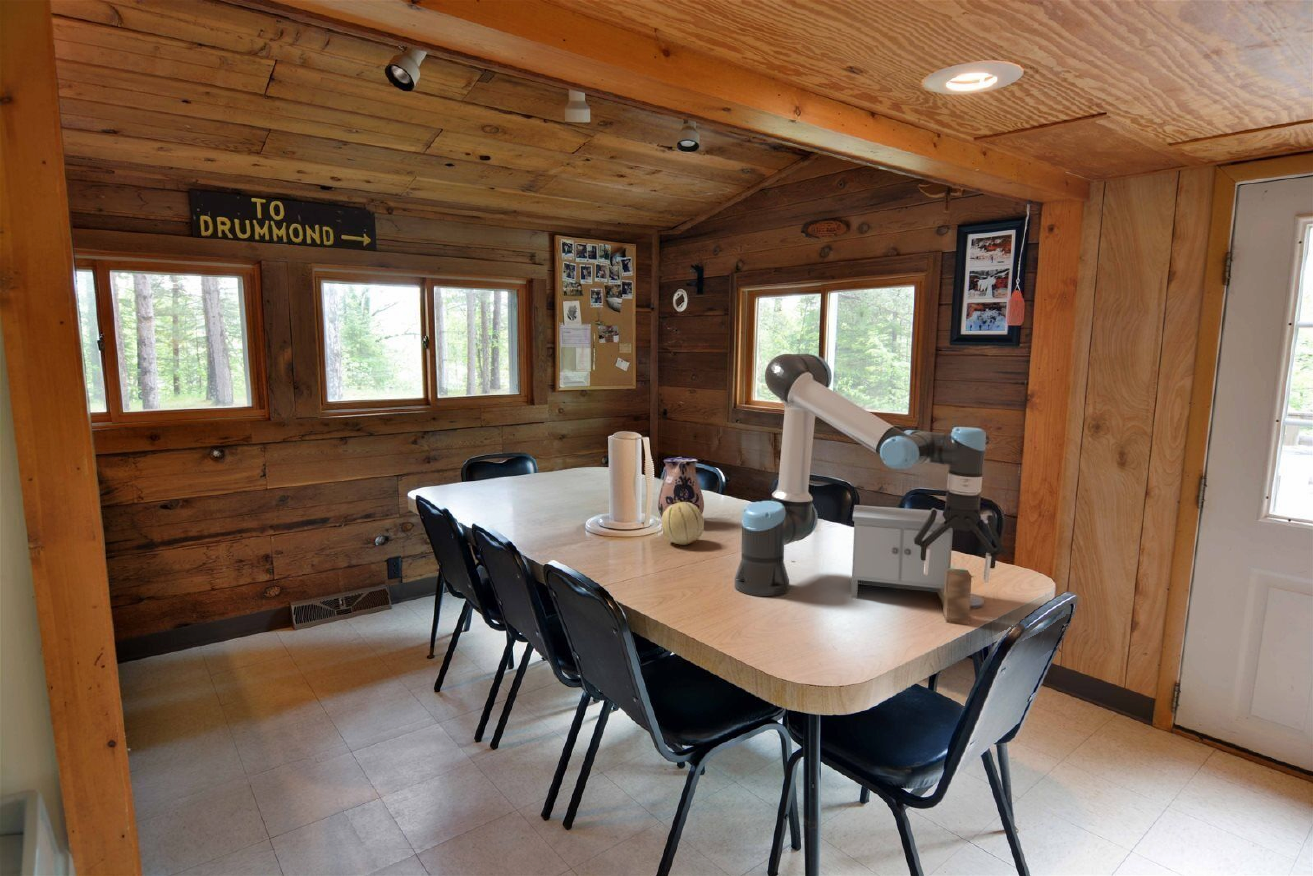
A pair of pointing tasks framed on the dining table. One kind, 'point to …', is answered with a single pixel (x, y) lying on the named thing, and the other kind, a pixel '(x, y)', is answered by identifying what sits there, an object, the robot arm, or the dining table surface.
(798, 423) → the robot arm
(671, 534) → the cantaloupe
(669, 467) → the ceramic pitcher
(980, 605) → the steel puck
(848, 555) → the dining table surface
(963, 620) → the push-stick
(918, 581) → the cabinet
